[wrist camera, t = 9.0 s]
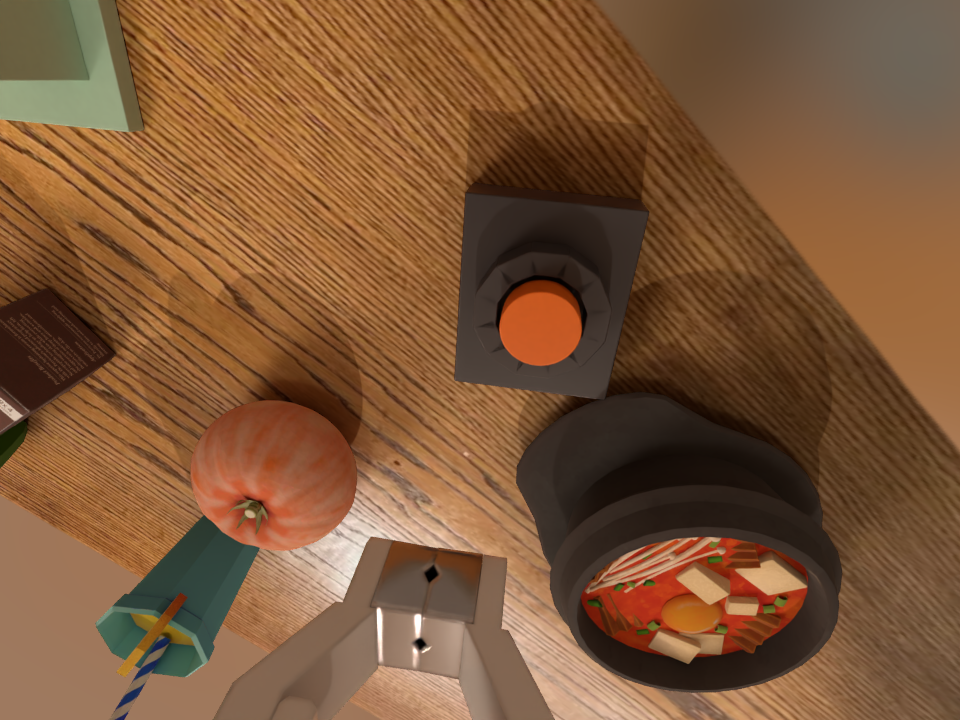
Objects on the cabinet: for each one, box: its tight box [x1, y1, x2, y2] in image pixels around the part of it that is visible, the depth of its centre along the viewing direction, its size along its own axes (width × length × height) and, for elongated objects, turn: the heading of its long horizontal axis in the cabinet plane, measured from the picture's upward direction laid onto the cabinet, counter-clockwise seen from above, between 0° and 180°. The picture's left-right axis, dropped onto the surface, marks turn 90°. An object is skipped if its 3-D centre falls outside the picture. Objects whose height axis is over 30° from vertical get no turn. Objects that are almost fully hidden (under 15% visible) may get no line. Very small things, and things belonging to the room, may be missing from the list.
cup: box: [96, 515, 260, 720], centre depth 37 cm, size 14×8×15 cm, turn 158°
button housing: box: [454, 183, 649, 400], centre depth 28 cm, size 11×9×4 cm
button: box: [499, 280, 582, 366], centre depth 26 cm, size 4×4×2 cm
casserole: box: [516, 392, 842, 693], centre depth 33 cm, size 25×19×8 cm
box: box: [0, 289, 115, 435], centre depth 33 cm, size 6×6×7 cm
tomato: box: [191, 400, 357, 551], centre depth 34 cm, size 11×11×8 cm
